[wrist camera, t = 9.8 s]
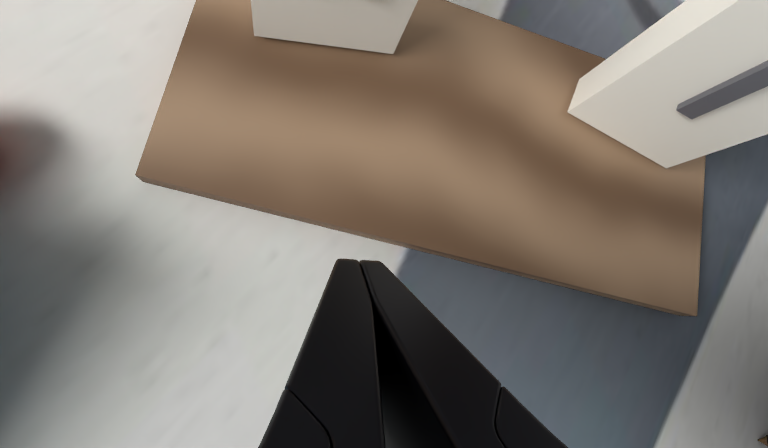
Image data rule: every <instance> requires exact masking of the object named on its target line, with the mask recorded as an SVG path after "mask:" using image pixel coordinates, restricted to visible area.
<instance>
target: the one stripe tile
mask: <svg viewBox="0 0 768 448" xmlns="http://www.w3.org/2000/svg"><path fill="white" fill-rule="evenodd" d="M568 113H570V114H571V115H573V116H575V117H577V118H578V119H580V120H582V121H584V122H585V123H587V124H589V125H591V126H592V127H594V128H596V129H598V130H599V131H601V132H603V133H605V134H607V135H608V136H610V137H612V138H614V139H615V140H617V141H619V142H621V143H622V144H624V145H626V146H628V147H629V148H631V149H633V150H635V151H636V152H638V153H640V154H642V155H643V156H645V157H647V158H649V159H651V160H652V161H654V162H656V163H658V164H659V165H661V166H663V167H665V168H669V167H672V166H675V165H678V164H681V163H684V162H687V161H690V160H693V159H696V158H699V157H702V156H704V155H707V154H710V153H713V152H716V151H719V150H722V149H725V148H728V147H731V146H734V145H737V144H740V143H743V142H746V141H749V140H752V139H755V138H757V137H760V136H763V135H766V134H768V0H686V1H685V2H683V3H682V4H681V5H679V6H678V7H677V8H675V9H674V10H673V11H671V12H670V13H668V14H667V15H666V16H664V17H663V18H662V19H660V20H659V21H658V22H656V23H655V24H654V25H652V26H651V27H649V28H648V29H647V30H645V31H644V32H643V33H641V34H640V35H639V36H637V37H636V38H635V39H633V40H632V41H630V42H629V43H628V44H626V45H625V46H624V47H622V48H621V49H620V50H618V51H617V52H615V53H614V54H613V55H611V56H610V57H609V58H607V59H606V60H605V61H603V62H602V63H601V64H599V65H598V66H596V67H595V68H594V69H592V70H591V71H590V72H588V73H587V74H586V75H584V76H583V77H581V78H580V79H579V81H578V84H577V87H576V89H575V92H574V95H573V98H572V101H571V103H570V106H569V109H568Z"/></svg>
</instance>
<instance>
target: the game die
mask: <svg viewBox="0 0 768 448" xmlns="http://www.w3.org/2000/svg"><path fill="white" fill-rule="evenodd" d="M758 441H760V442H761V443H763V444H765V445H766V446H768V435H766V437H764V438H761V439H759V440H758Z"/></svg>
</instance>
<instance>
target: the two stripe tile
mask: <svg viewBox="0 0 768 448" xmlns="http://www.w3.org/2000/svg"><path fill="white" fill-rule="evenodd" d="M417 2H418V0H251V9H252V19H253V30H254V36H259V37H267V38H274V39H282V40H289V41H297V42H305V43H312V44H320V45H327V46H335V47H343V48H350V49H358V50H365V51H373V52H381V53H388V54H393V53H394V51H395V49H396V47H397V45H398V43H399V40H400V38H401V36H402V34H403V32H404V30H405V27H406V25H407V23H408V21H409V19H410V17H411V14H412V12H413V10H414V8H415V6H416V4H417Z"/></svg>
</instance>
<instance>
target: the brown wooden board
mask: <svg viewBox="0 0 768 448" xmlns="http://www.w3.org/2000/svg"><path fill="white" fill-rule="evenodd" d="M605 60H606V59H604V58H601V57H599V56H596V55H593V54H590V53H588V52H585V51H582V50H579V49H577V48H574V47H571V46H569V45H566V44H563V43H560V42H558V41H555V40H552V39H549V38H547V37H544V36H541V35H538V34H536V33H533V32H530V31H527V30H525V29H522V28H519V27H517V26H514V25H511V24H508V23H506V22H503V21H500V20H497V19H495V18H492V17H489V16H486V15H484V14H481V13H478V12H475V11H473V10H470V9H467V8H464V7H462V6H459V5H456V4H454V3H451V2H448V1H445V0H418V2H417V4H416V6H415V8H414V10H413V12H412V14H411V17H410V19H409V21H408V23H407V25H406V27H405V30H404V32H403V34H402V36H401V38H400V40H399V43H398V45H397V47H396V49H395V51H394V53H393V54H388V53H381V52H373V51H365V50H358V49H350V48H343V47H335V46H327V45H320V44H312V43H305V42H297V41H289V40H282V39H274V38H267V37H259V36H254V30H253V19H252V9H251V0H196V2H195V5H194V8H193V11H192V14H191V16H190V19H189V22H188V25H187V28H186V31H185V34H184V37H183V39H182V42H181V45H180V48H179V51H178V54H177V57H176V60H175V62H174V65H173V68H172V71H171V74H170V77H169V80H168V82H167V85H166V88H165V91H164V94H163V97H162V100H161V103H160V105H159V108H158V111H157V114H156V117H155V120H154V123H153V125H152V128H151V131H150V134H149V137H148V140H147V143H146V146H145V148H144V151H143V154H142V157H141V160H140V163H139V166H138V169H137V171H136V174H135V175H136V176H137V177H138V178H139V179H140V180H142V181H143V182H146V183H150V184H154V185H158V186H162V187H166V188H170V189H174V190H178V191H182V192H186V193H190V194H194V195H198V196H202V197H206V198H210V199H214V200H218V201H222V202H226V203H230V204H234V205H238V206H242V207H246V208H250V209H254V210H258V211H262V212H266V213H270V214H274V215H278V216H282V217H286V218H290V219H294V220H298V221H302V222H306V223H310V224H314V225H318V226H322V227H326V228H330V229H334V230H338V231H342V232H346V233H350V234H354V235H358V236H362V237H367V238H371V239H375V240H379V241H383V242H387V243H391V244H395V245H399V246H403V247H407V248H411V249H415V250H419V251H423V252H427V253H431V254H435V255H439V256H443V257H447V258H451V259H455V260H459V261H463V262H467V263H471V264H475V265H479V266H483V267H487V268H491V269H495V270H499V271H503V272H507V273H511V274H515V275H519V276H523V277H527V278H531V279H535V280H539V281H543V282H547V283H551V284H555V285H559V286H563V287H567V288H571V289H575V290H579V291H583V292H587V293H591V294H595V295H599V296H603V297H607V298H611V299H615V300H619V301H623V302H627V303H631V304H635V305H639V306H643V307H647V308H651V309H655V310H659V311H663V312H667V313H671V314H675V315H679V316H697V306H698V288H699V269H700V250H701V232H702V213H703V194H704V176H705V157H706V155H704V156H702V157H699V158H696V159H693V160H690V161H687V162H684V163H681V164H678V165H675V166H672V167H669V168H665V167H663V166H661V165H659V164H658V163H656V162H654V161H652V160H651V159H649V158H647V157H645V156H643V155H642V154H640V153H638V152H636V151H635V150H633V149H631V148H629V147H628V146H626V145H624V144H622V143H621V142H619V141H617V140H615V139H614V138H612V137H610V136H608V135H607V134H605V133H603V132H601V131H599V130H598V129H596V128H594V127H592V126H591V125H589V124H587V123H585V122H584V121H582V120H580V119H578V118H577V117H575V116H573V115H571V114H570V113H568V109H569V106H570V103H571V101H572V98H573V95H574V92H575V89H576V87H577V84H578V81H579V79H580V78H581V77H583V76H584V75H586V74H587V73H588V72H590V71H591V70H592V69H594V68H595V67H596V66H598V65H599V64H601V63H602V62H603V61H605Z"/></svg>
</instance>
